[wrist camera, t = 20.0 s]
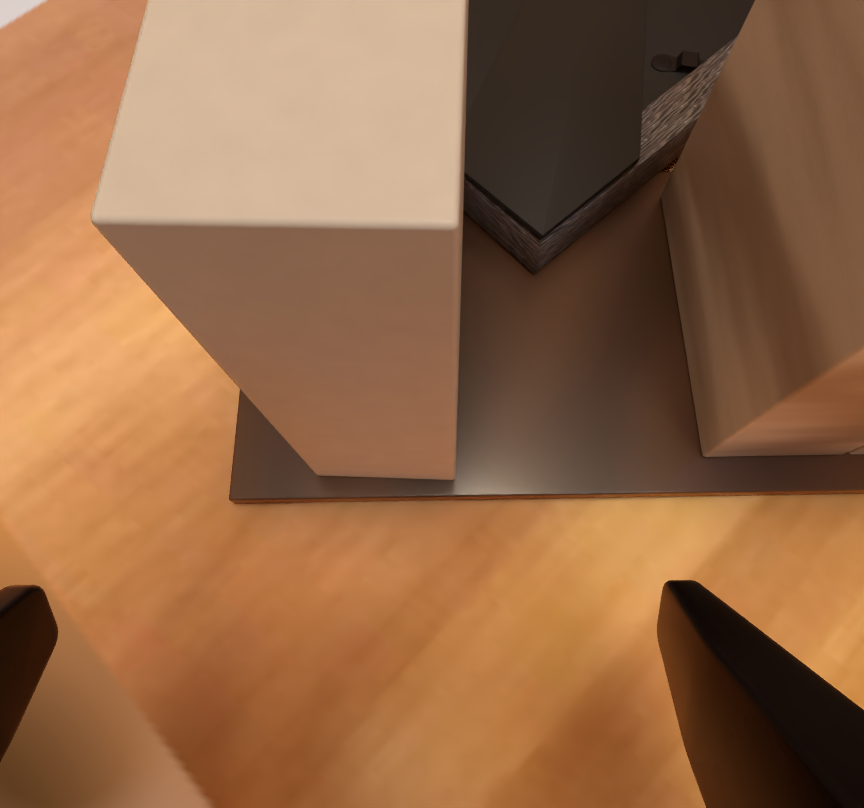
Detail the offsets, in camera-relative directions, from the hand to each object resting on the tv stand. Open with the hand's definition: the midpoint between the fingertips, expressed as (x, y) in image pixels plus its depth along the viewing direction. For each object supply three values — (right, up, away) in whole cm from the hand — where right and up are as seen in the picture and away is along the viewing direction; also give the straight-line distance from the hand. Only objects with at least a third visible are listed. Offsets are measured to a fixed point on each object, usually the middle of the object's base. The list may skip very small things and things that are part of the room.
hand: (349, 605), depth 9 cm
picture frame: (+7, +17, +15) cm, 24 cm away
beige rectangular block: (0, +5, +10) cm, 12 cm away
